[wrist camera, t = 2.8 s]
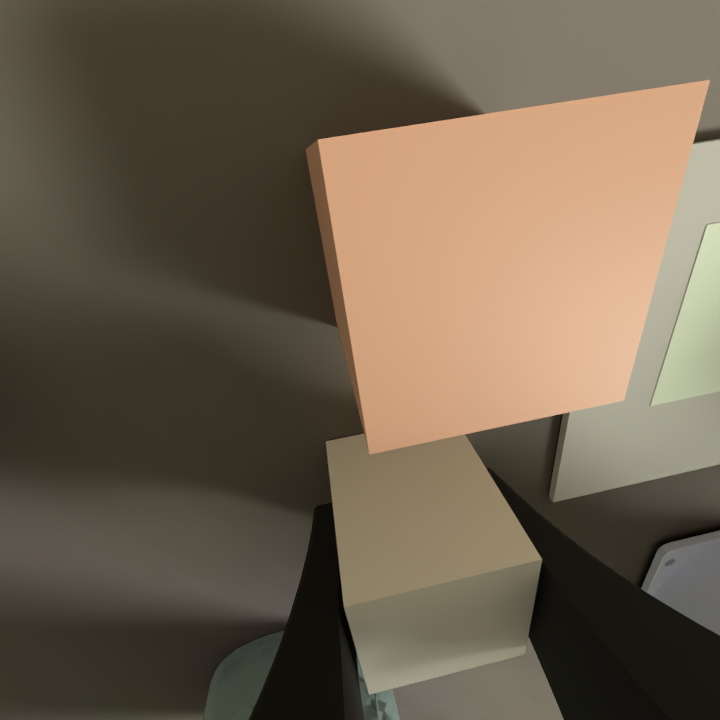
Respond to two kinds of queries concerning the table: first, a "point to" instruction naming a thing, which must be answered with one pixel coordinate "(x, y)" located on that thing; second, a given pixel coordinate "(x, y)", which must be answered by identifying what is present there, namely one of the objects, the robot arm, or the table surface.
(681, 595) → the robot arm
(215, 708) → the teal plant pot
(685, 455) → the grey mat
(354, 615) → the cream block
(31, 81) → the table surface
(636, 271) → the terracotta block
